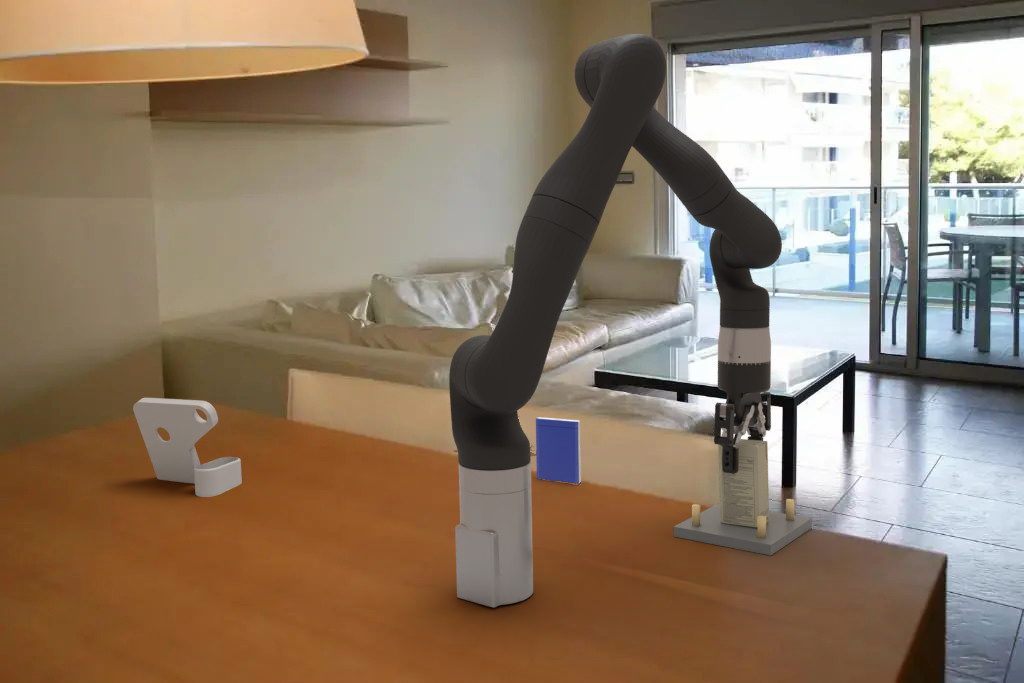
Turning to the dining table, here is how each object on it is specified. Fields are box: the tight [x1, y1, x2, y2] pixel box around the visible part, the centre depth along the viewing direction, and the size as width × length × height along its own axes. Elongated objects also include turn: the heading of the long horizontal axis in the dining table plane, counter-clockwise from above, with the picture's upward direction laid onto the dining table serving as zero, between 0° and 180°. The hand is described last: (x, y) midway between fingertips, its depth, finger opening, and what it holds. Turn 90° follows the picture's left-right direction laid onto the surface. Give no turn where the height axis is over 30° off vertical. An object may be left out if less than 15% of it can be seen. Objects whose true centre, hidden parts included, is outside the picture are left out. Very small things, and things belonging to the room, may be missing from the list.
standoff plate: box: [673, 498, 813, 556], centre depth 143 cm, size 15×15×4 cm
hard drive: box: [535, 416, 582, 484], centre depth 170 cm, size 2×8×12 cm, turn 61°
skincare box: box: [717, 438, 770, 527], centre depth 143 cm, size 6×4×12 cm
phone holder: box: [132, 397, 243, 498], centre depth 170 cm, size 17×10×18 cm, turn 69°
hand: (743, 467), depth 143 cm, fingers open, 8 cm apart
